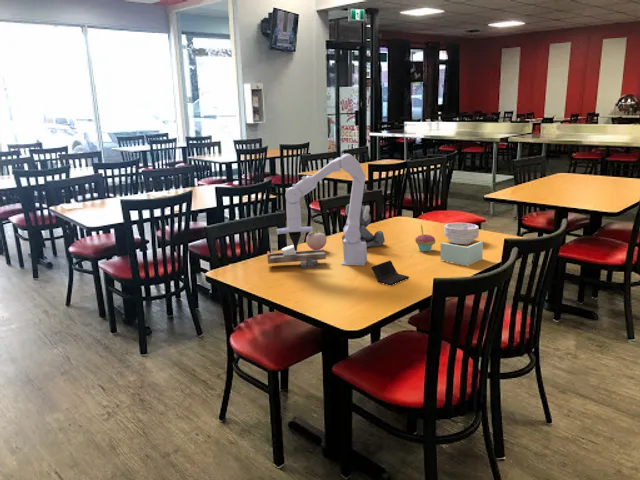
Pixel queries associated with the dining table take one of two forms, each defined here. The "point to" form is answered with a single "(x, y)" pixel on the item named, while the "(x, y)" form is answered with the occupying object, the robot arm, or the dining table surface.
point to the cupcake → (425, 241)
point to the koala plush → (365, 234)
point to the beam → (296, 256)
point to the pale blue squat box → (462, 253)
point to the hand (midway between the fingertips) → (295, 250)
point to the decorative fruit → (316, 240)
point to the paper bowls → (461, 232)
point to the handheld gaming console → (387, 273)
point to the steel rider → (289, 250)
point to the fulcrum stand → (309, 263)
